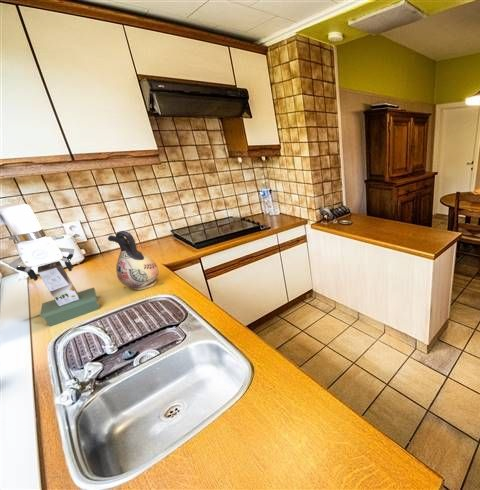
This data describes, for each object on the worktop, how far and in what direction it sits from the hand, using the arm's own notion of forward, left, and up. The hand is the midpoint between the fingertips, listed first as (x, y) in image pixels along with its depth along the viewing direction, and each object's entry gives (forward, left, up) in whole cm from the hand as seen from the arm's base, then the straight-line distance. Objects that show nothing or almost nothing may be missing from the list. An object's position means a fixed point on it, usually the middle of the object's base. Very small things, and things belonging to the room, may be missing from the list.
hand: (54, 274), depth 109 cm
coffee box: (0, 0, -12) cm, 12 cm away
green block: (0, -1, -18) cm, 18 cm away
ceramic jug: (+25, +1, -18) cm, 31 cm away
